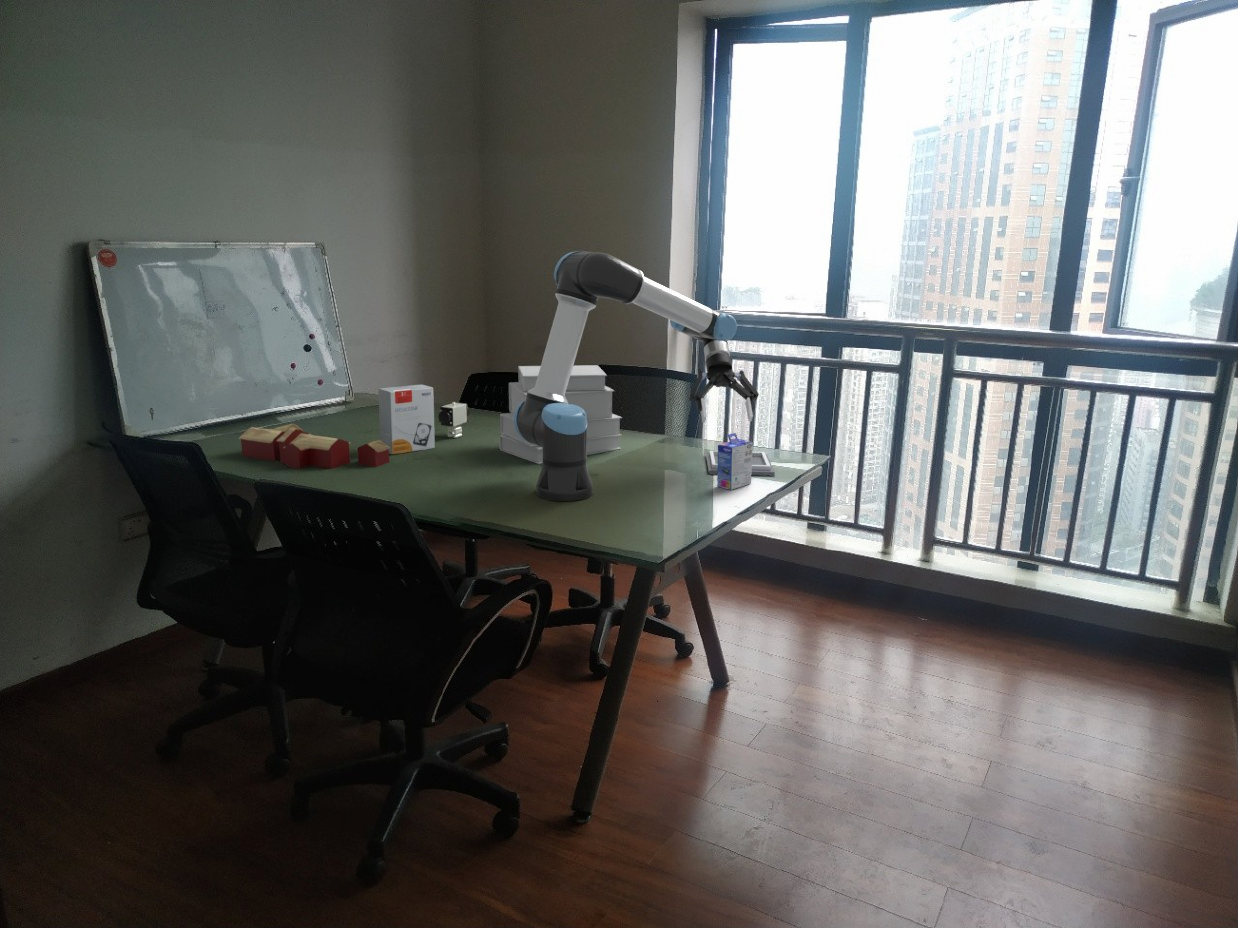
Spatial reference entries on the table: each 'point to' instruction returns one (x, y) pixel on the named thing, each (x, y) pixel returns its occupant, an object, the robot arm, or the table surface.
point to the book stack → (582, 392)
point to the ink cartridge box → (734, 463)
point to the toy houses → (307, 448)
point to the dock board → (759, 463)
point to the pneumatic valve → (454, 417)
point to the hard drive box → (407, 418)
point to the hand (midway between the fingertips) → (727, 419)
